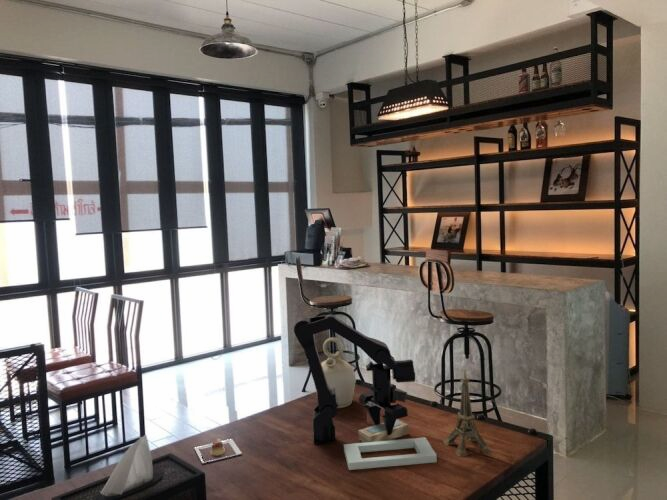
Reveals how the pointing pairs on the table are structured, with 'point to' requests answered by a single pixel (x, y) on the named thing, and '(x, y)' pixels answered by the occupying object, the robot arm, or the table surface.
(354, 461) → the pale grey open frame
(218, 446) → the dessert
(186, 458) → the table surface
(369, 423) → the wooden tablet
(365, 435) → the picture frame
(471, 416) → the eiffel tower
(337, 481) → the table surface
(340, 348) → the jug
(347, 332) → the robot arm
